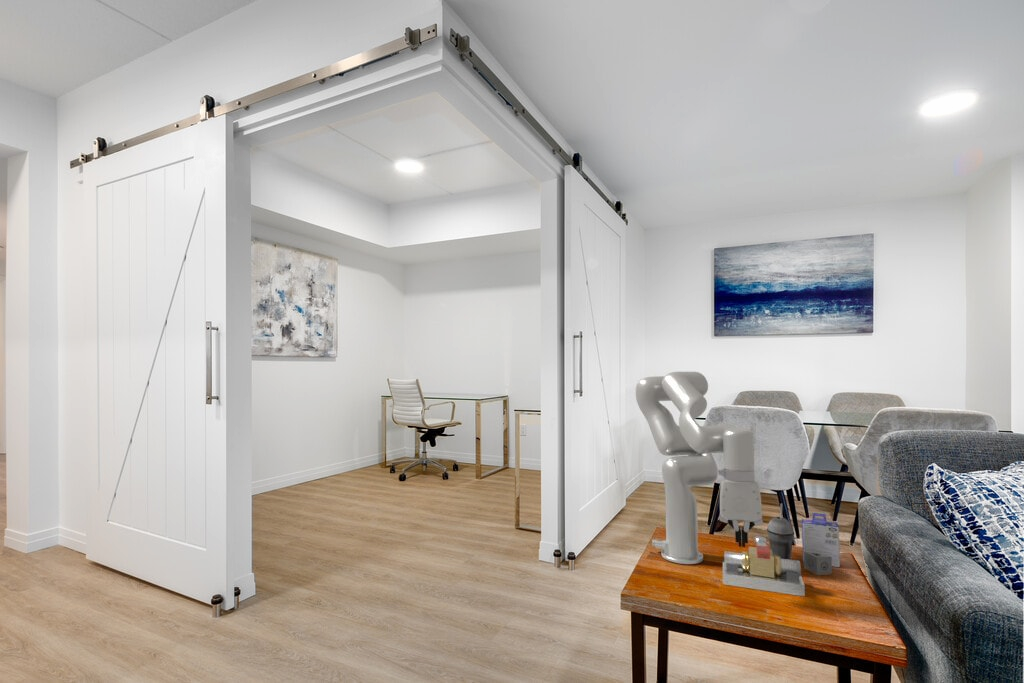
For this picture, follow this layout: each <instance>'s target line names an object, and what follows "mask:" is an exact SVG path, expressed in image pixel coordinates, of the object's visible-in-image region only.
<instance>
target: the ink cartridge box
mask: <svg viewBox="0 0 1024 683" xmlns="http://www.w3.org/2000/svg"><path fill="white" fill-rule="evenodd" d="M826 515H827V514H825V513H818V512H817V513H816V512H812V519H805V518H802V519H801V542H802V561H803V563H804V552H806V551H820V552H823V553H825V554H827V555H829V556H831V557H832V567H836V568H840V566H841V562H840V561H841V560H840V557H841V555H840V552H841V551H840V526H839V525H838V523H837V522H834V521H827V516H826ZM819 516H820V517H822V518H819Z"/></svg>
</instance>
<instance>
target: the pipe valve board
mask: <svg viewBox="0 0 1024 683" xmlns="http://www.w3.org/2000/svg"><path fill="white" fill-rule="evenodd" d="M769 550H770V559H762V558H757V552H756V546H754V547H753V546H748V551H744V550H742V551H741V552H735V551H724V553H723V554H724V556H723V558H724V559H723V560H724V561H722V585H725V586H733V587H738V588H745V589H746V588H747V589H751V590H752V589H753V590H758V591H766V592H772V593H779V594H784V595H785V594H786V595H792V596H799V597H805V596H806V593H805V592H806V590H805V586H806V585H805V583H804V579H803V577H802V567H801V560H796V559H791V560H789V559H781V558H780V556H776V555H773V551H772V549H770V548H769Z"/></svg>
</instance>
